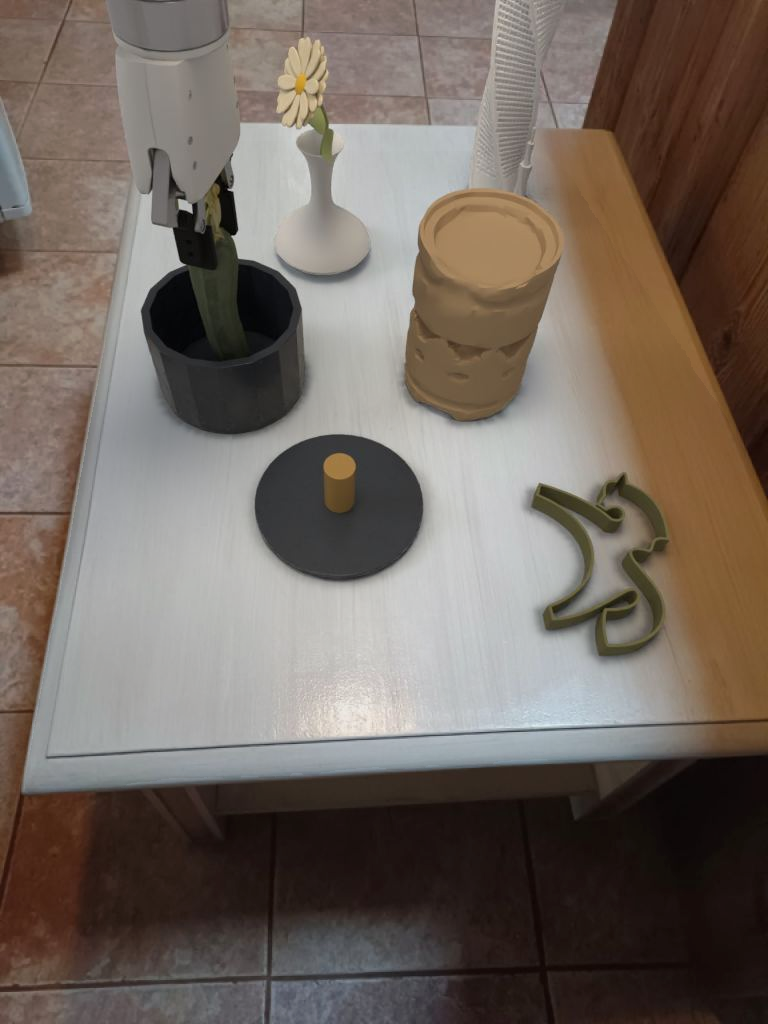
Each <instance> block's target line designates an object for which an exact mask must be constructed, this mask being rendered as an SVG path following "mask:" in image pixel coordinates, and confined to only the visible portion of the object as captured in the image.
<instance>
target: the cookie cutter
mask: <svg viewBox="0 0 768 1024" xmlns="http://www.w3.org/2000/svg"><path fill="white" fill-rule="evenodd" d="M616 487H617V489H618V496H619V497H622V498H624V499H626V500H628V501H630V502H631V503H633V504H634V505H636V506H637V507H639V508H640V509H641V510H642V511H643V513H644V514H645V515H646V516H647V518H648V519H649V521H650V523H651V525H652V527H653V530H654V533H655V536H656V537H655V538H653V540H652V541H651V542H650V544H649V545H648V547H631V548H630V549H629V550H628V552H627V553H626V555H625V556H624V557H623V559H622V560H621V566H622V568H623V569H624V571H625V573H626V574H627V575H628V577H629V578H630V579H631V581H632V582H633V583H634V584H635V585H636V586H637V588H638V589H639V590H640V591H641V592H642V594H643V595H644V597H645V598H646V600H647V601H648V603H649V605H650V608H651V611H652V614H653V626H652V629H651V631H650V633H649V634H647V636H645V637H643V638H641V639H638V640H635V641H632V642H626V643H609V640H608V634H607V628H606V627H607V625H606V621H614V620H618V619H622V618H625V617H626V616H628V615H629V614H630V613H631V612H632V610H633V609H634V608H635V607H636V605H638V603H639V602H640V599H641V593H640V591H639V590H638V589H637V588H635V587H629V588H626V589H624V590H622V591H620V592H618V593H617V594H614V595H613V596H612V597H609V598H608V599H606V600H604V601H602V602H600V603H599V604H596V605H594V606H592V607H590V608H588V609H586V610H583V611H580V612H576V613H573V614H570V615H566V616H564V615H563V616H557V617H556V616H555V613H557V612H559V611H560V610H562V609H564V608H565V607H567V606H568V605H569V604H570V603H572V602H573V601H574V600H575V599H576V597H577V596H578V595H579V594H580V592H581V590H583V588H584V586H585V585H586V583H587V582H588V580H589V578H590V577H591V574H592V571H593V568H594V565H595V549H594V545H593V542H592V539H591V537H590V535H589V533H588V531H587V530H586V528H585V527H584V526H583V524H582V523H581V522H580V521H579V520H578V518H576V516H575V515H574V514H573V513H571V512H570V511H573V512H575V513H577V514H578V515H580V516H582V517H584V518H585V519H587V520H588V521H590V522H592V523H593V524H595V526H597V527H598V528H600V529H601V530H602V531H603V532H605V533H614V532H616V531H617V530H618V529H619V527H620V525H621V524H622V523H623V521H624V519H625V518H626V510H625V509H624V508H623V507H621V506H619V505H609V506H607V507H605V506H604V505H602V503H603V501H604V500H605V498H606V496H607V495H611V493H612V492H613V491H614V489H616ZM530 506H531V507H530V508H532V509H535V510H537V511H539V512H542V513H543V514H545V515H547V516H549V517H550V518H552V519H553V520H555V521H556V522H558V523H559V524H560V525H561V526H563V527H564V528H565V529H566V530H567V531H568V532H569V533H570V534H571V535H572V537H573V538H574V540H576V543H577V544H578V546H579V548H580V550H581V553H582V556H583V561H584V573H583V577H582V581H581V583H580V585H578V587H576V588H575V589H574V590H573V591H572V592H571V593H569V594H568V595H566V596H564V597H563V598H561V599H559V600H557V601H555V602H552V603H549V604H548V605H547V606H546V608H545V609H544V611H543V613H542V618H543V622H544V626H545V629H546V630H559V629H565V628H568V627H571V626H574V625H577V624H580V623H582V622H584V621H587V620H589V619H591V618H593V617H595V616H597V615H598V614H599V615H598V616H597V618H596V620H595V621H596V622H595V629H594V631H595V632H594V634H595V635H594V636H595V644H596V649H597V653H598V656H601V657H603V656H604V657H606V656H607V657H610V656H611V657H613V656H621V655H626V654H629V653H632V652H635V651H637V650H639V649H641V648H643V647H644V646H645V645H646V644H647V643H648V642H649V641H650V640H652V639H653V637H654V636H655V635H656V634H657V633H658V632H659V631H660V629H661V628H662V626H663V625H664V622H665V620H666V612H667V611H666V610H667V609H666V604H665V600H664V598H663V594H662V593H661V591H660V590H659V587H658V586H657V585H656V583H655V582H654V581H653V580H652V578H651V577H650V576H649V574H647V572H646V571H645V570H644V569H643V568H642V566H641V565H640V564H639V563H643V562H645V561H646V559H647V558H648V556H649V555H650V554H651V552H653V551H659V552H662V551H663V549H664V548H666V545H667V544H668V543H669V542H670V532H669V528H668V523H667V520H666V517H665V514H664V512H663V510H662V509H661V507H660V505H659V504H658V503H657V501H656V500H655V499H654V497H652V496H651V495H650V493H647V492H646V491H645V490H644V489H642V488H641V487H639V486H637V485H635V484H632V483H631V482H629V477H628V473H627V472H626V471H622V472H621V473H619V475H618V476H616V478H615V479H609V480H607V481H606V482H605V483H604V484H603V486H602V488H601V489H600V491H599V493H598V495H597V497H596V505H595V504H593V503H591V502H590V501H588V500H586V499H584V498H583V497H580V496H578V495H575V494H573V493H570V492H568V491H565V490H563V489H561V488H557V487H555V486H553V485H548V484H546V483H542V482H538V484H537V487H536V489H535V490H534V494H533V498H532V501H531V505H530ZM569 510H570V511H569ZM623 601H627V602H628V605H626V606H625V605H624V606H620V607H613V606H615V605H616V604H618V603H620V602H623Z"/></svg>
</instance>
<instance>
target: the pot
mask: <svg viewBox="0 0 768 1024" xmlns="http://www.w3.org/2000/svg"><path fill="white" fill-rule="evenodd" d="M237 308H238V314H239V319H240V322H241V324H242V327H243V331H244V334H245V338H246V342H247V345H248V349H249V352H250V356H249V357H246V358H239V359H233V360H227V361H221V362H219V361H218V359H217V357H216V355H215V353H214V352H213V350H212V348H211V346H210V343H209V341H208V338H207V334H206V330H205V327H204V324H203V320H202V317H201V314H200V311H199V307H198V303H197V299H196V296H195V293H194V289H193V285H192V282H191V277H190V272H189V267H188V265H185V264H184V265H182V266H180V267H178V268H175V269H173V270H171V271H168V273H166V274H165V275H164V276H163V277H162V278H161V279H159V280H158V281H157V282H156V283H155V284H154V285H153V286H152V287H150V289H149V290H148V293H147V295H146V297H145V299H144V302H143V304H142V306H141V309H140V316H141V322H142V329H143V334H144V338H145V341H146V345H147V347H148V351H149V355H150V357H151V360H152V364H153V367H154V371H155V373H156V376H157V380H158V383H159V387H160V391H161V393H162V396H163V399H164V400H165V401H166V403H167V405H168V406H169V408H170V409H171V410H172V412H174V414H175V415H176V416H177V417H179V418H180V419H181V420H182V421H184V422H185V423H187V424H189V425H190V426H192V427H194V428H197V429H199V430H203V431H206V432H211V433H215V434H227V435H231V434H234V435H235V434H244V433H250V432H253V431H256V430H260V429H263V428H266V427H268V426H271V425H272V424H274V423H276V422H277V421H279V420H280V419H282V418H283V417H284V416H285V415H287V414H288V413H289V412H290V411H291V410H292V409H294V406H295V405H296V404H297V402H298V401H299V399H300V397H301V395H302V393H303V389H304V386H305V379H306V378H305V377H306V361H305V360H306V359H305V358H306V357H305V341H304V339H305V338H304V325H303V324H304V323H303V322H304V321H303V308H302V304H301V301H300V297H299V294H298V291H297V288H296V287H295V286H294V285H293V284H292V283H291V282H290V281H289V280H288V279H287V278H286V277H285V276H284V275H283V274H282V273H281V272H280V271H279V270H277V269H274V268H272V267H270V266H267V265H265V264H263V263H261V262H258V261H256V260H253V259H245V258H238V279H237Z"/></svg>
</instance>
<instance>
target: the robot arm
mask: <svg viewBox="0 0 768 1024" xmlns="http://www.w3.org/2000/svg"><path fill="white" fill-rule="evenodd" d="M104 2H105V4H106V9H107V14H108V18H109V22H110V27H111V31H112V35H113V38H114V40H115V42H116V44H117V47H116V48H115V51H114V56H115V57H114V59H115V75H116V85H117V95H118V103H119V109H120V115H121V116H120V117H121V121H122V127H123V133H124V138H125V139H124V140H125V143H126V149H127V153H128V158H129V162H130V168H131V171H132V176H133V179H134V184H135V186H136V189H137V190H138V192H139V193H140V194H141V195H148V196H149V195H150V194H151V210H150V211H151V212H150V220H151V224H152V225H155V226H158V227H159V226H160V227H163V228H167V229H172V232H173V237H174V242H175V245H176V251H177V255H178V260H179V262H180V263H181V264H182V265H184V266H185V265H190V266H194V267H199V268H203V269H208V270H212V271H214V270H215V269H216V268H217V266H218V261H217V255H216V249H215V243H214V237H213V231H212V226H209V225H206V212H205V199H204V195H205V194H206V193H207V191H208V190H209V189H210V187H211V186H212V184H213V183H214V182H215V184H218V186H219V188H220V190H219V191H220V192H219V194H218V195H217V197H218V199H219V203H220V208H221V221H220V224H219V227H221V228H223V229H225V230H226V231H227V232H228V233H229V234H230V235H231V236H232V237H234V236H236V235H237V234H238V232H239V223H238V216H237V215H238V214H237V207H236V200H235V192H234V191H233V188H234V185H235V175H234V170H233V165H232V158H233V156H234V152H235V150H236V148H237V146H238V144H239V141H240V138H241V115H240V104H239V98H238V97H239V96H238V90H237V84H236V83H237V82H236V75H235V69H234V63H233V59H232V51H231V47H230V42H229V39H230V36H231V33H232V32H231V22H230V13H229V12H230V11H229V5H228V4H229V3H228V0H104ZM179 200H182V201H186V202H187V203H188V204H189V205H191V211H192V212H190V211H189V210H185V209H181V208H180V206H179Z"/></svg>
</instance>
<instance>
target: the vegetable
mask: <svg viewBox="0 0 768 1024" xmlns="http://www.w3.org/2000/svg"><path fill="white" fill-rule="evenodd" d="M219 190H220V188H219V186H218V184H215V182H214V183H213V184H212V186H211V187H210V189H209V190H208V191H207V193H206V194H205V195H204V199H205V212H206V225H209V226H212V231H213V237H214V243H215V249H216V255H217V261H218V266H217V268H216V269H215V270H214V271H212V270H208V269H203V268H199V267H194V266H190V265H188V267H189V272H190V277H191V282H192V285H193V289H194V293H195V296H196V299H197V303H198V307H199V311H200V314H201V317H202V320H203V324H204V327H205V330H206V334H207V338H208V341H209V343H210V346H211V348H212V350H213V352H214V353H215V355H216V357H217V359H218V361H219V362H221V361H227V360H233V359H239V358H246V357H249V356H250V352H249V349H248V345H247V342H246V338H245V334H244V331H243V327H242V324H241V322H240V319H239V314H238V308H237V279H238V259H239V256H238V251H237V246H236V243H235V240H234V238H233V236H231V235H230V234H229V233H228V232H227V231H226V230H225V229H223V228H221V227H219V224H220V221H221V208H220V203H219V199H218V197H217V195H218V194H219V192H220V191H219Z"/></svg>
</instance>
